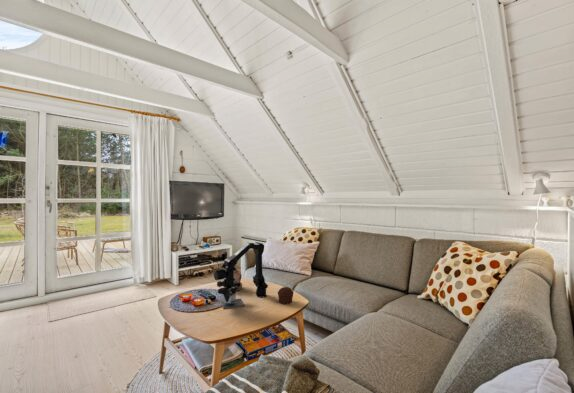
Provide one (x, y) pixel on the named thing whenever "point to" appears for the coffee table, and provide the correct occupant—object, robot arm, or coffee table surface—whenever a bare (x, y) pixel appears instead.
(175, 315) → the coffee table surface
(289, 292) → the muffin
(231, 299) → the collar
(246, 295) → the coffee table surface
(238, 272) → the ceramic jug
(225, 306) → the flange plate
